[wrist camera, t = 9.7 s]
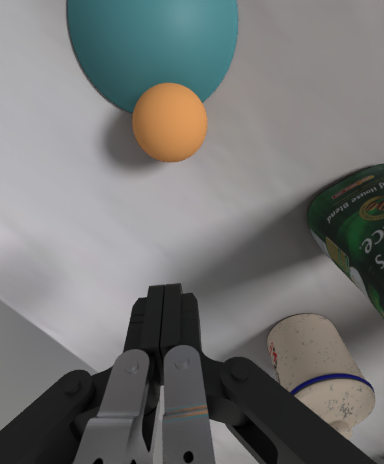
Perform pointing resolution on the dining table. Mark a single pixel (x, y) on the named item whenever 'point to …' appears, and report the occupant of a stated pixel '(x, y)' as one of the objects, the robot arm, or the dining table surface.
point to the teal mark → (153, 44)
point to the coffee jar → (354, 230)
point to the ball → (169, 122)
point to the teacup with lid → (320, 371)
